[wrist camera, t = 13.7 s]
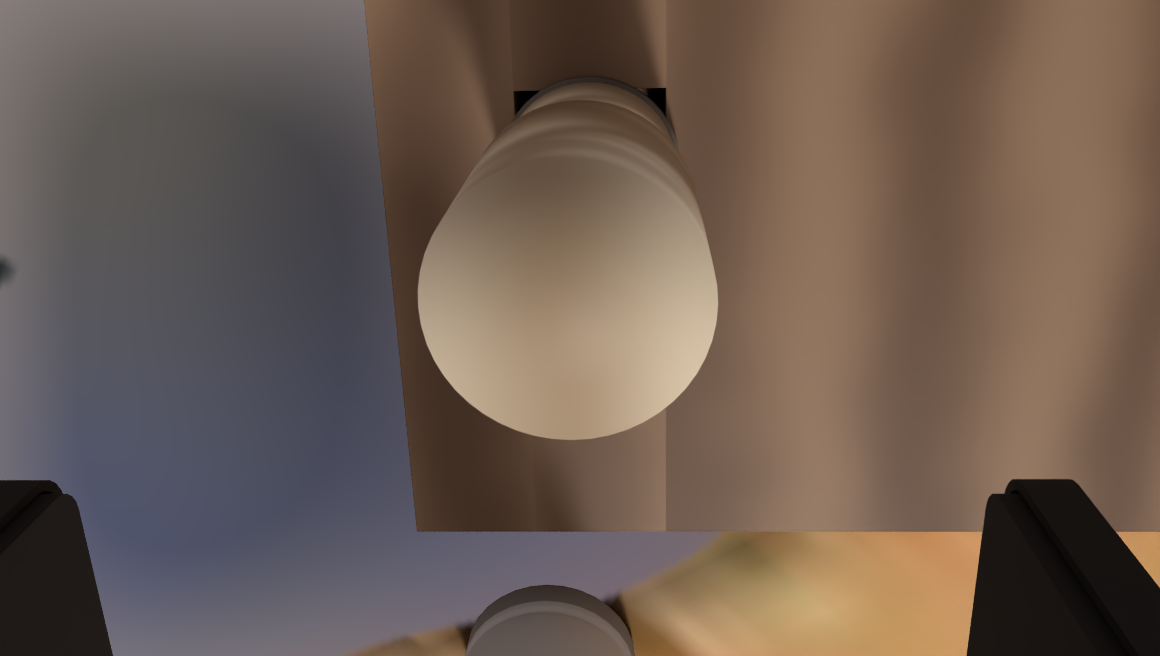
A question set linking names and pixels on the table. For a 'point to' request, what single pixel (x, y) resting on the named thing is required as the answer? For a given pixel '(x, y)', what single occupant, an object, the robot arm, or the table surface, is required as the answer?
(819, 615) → the table surface
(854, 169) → the walnut board
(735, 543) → the table surface
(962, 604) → the table surface
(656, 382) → the ash leg
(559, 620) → the travel mug
